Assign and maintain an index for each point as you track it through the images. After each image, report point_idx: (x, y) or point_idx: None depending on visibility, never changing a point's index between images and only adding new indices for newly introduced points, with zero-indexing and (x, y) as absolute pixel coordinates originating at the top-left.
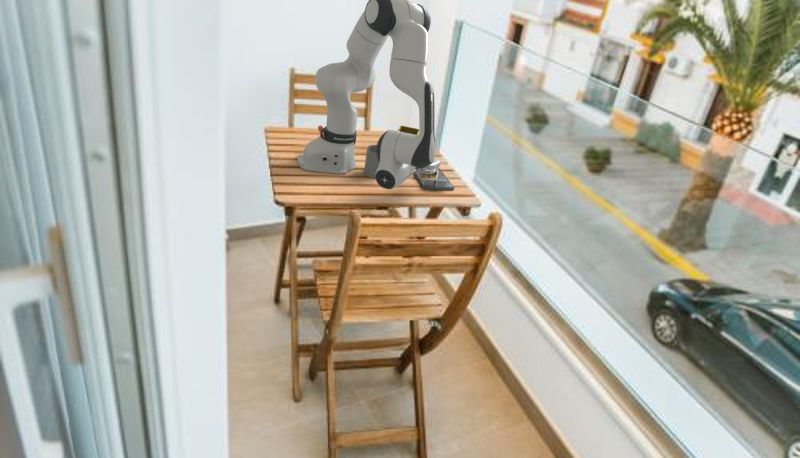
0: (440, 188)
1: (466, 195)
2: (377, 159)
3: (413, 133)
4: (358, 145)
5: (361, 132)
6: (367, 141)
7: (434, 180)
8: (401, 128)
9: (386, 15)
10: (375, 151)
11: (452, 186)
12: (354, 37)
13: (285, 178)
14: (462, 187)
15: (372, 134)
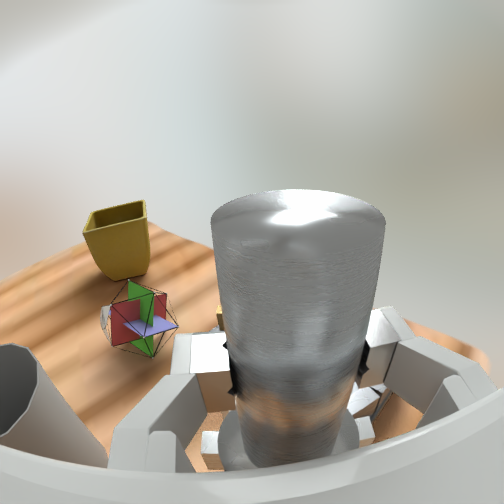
0: (389, 395)
1: (461, 349)
2: None
3: (132, 217)
4: (10, 319)
5: (25, 272)
6: (33, 292)
7: (377, 395)
8: (96, 219)
9: None
10: (4, 377)
11: None
12: None
13: None
14: (409, 322)
15: (47, 265)
